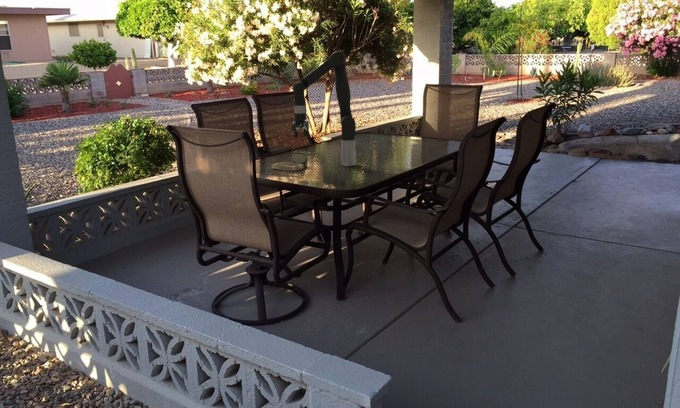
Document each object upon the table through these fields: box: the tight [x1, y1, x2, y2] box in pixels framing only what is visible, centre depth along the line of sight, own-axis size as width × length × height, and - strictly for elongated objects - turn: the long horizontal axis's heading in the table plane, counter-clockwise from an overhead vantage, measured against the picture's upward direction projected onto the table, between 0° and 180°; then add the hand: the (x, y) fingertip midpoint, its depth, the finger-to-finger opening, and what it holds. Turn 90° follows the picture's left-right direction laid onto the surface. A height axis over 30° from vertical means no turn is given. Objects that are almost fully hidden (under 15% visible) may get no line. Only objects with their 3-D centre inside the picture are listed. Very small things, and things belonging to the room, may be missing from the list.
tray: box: [271, 161, 305, 172], centre depth 388 cm, size 12×18×3 cm, turn 51°
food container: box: [290, 150, 309, 168], centre depth 397 cm, size 12×6×10 cm, turn 59°
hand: (300, 136), depth 394 cm, fingers open, 8 cm apart
